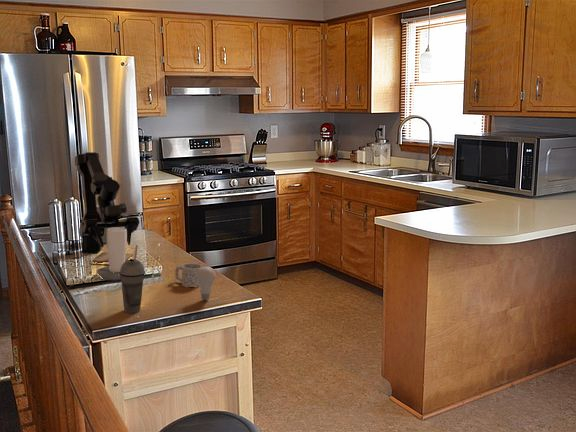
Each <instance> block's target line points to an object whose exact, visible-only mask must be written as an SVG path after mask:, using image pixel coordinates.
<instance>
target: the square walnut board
mask: <svg viewBox="0 0 576 432" xmlns="http://www.w3.org/2000/svg"><path fill="white" fill-rule="evenodd" d="M132 256H133V257H134V253H127V252H126V256H125V262H126V261H127V260H128V259H129V258H130V257H132ZM92 262H94V263H95V262H97V263H103V262H109V260H108V251H105V252H104V251H101V252H100V253H98V255H97V256H96V257H94V258H93V259H92Z"/></svg>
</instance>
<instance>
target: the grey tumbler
mask: <svg viewBox="0 0 576 432" xmlns="http://www.w3.org/2000/svg"><path fill="white" fill-rule="evenodd" d="M127 245H128V243H127V229H126V228H125V227H112V228H108V229H107V243H106V247H107V252H108V260H109V265H108V266H109V271H110V272H114V273H118V272H120V269H121V266H122V265H123V263H124V262H125V256H126V253H127Z"/></svg>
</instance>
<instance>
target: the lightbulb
mask: <svg viewBox="0 0 576 432" xmlns="http://www.w3.org/2000/svg"><path fill="white" fill-rule="evenodd" d="M216 278H217V276H216V272H215V271H214V268H212V267H211V266H202V268H200V269H199V270H198V271H197V273H196V279H197V282H198V284H199V286H200V287H199V289H200V295H201V297H200V298H201V300H203V301H204V300H206V301H207V300H209V299H210V293H211V292H212V291H211V289H212V286H213V284H214V283H215V281H216Z"/></svg>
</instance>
